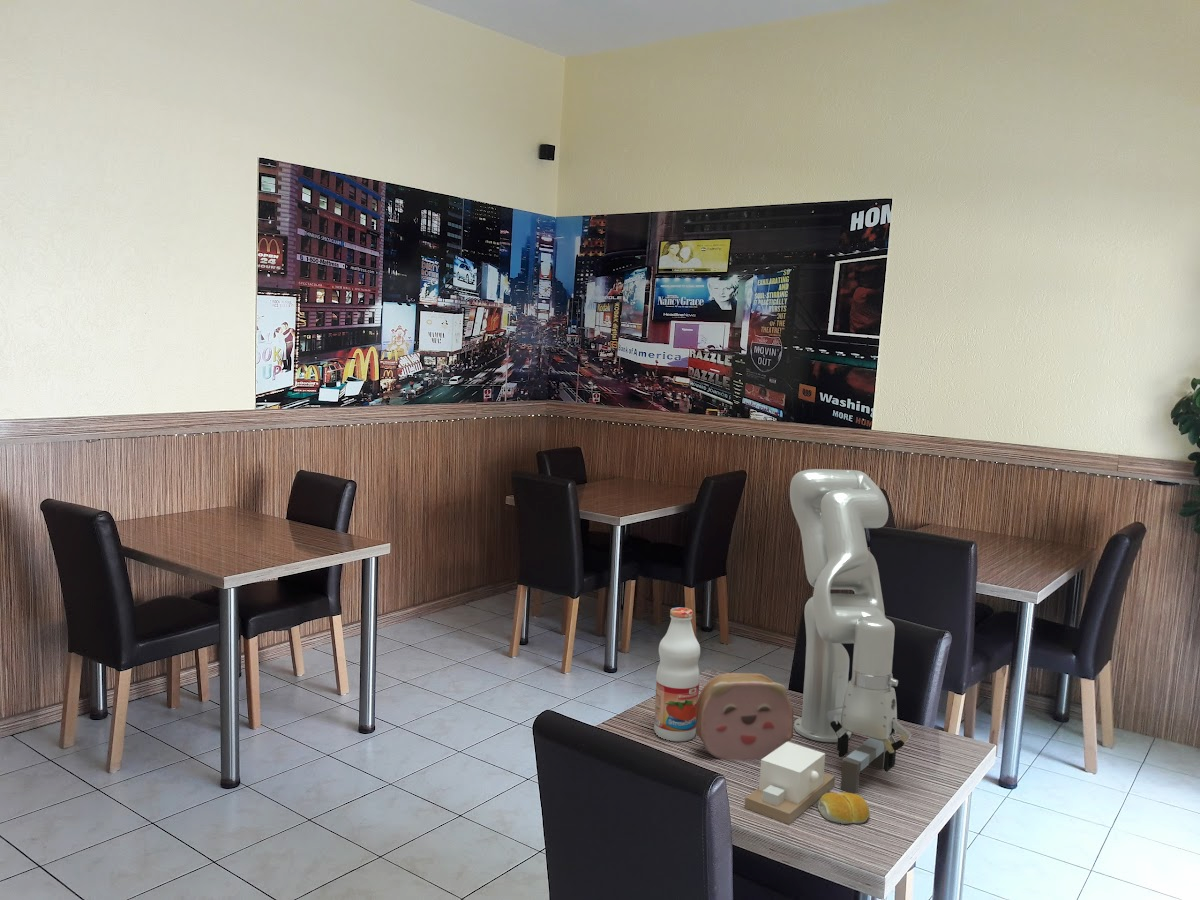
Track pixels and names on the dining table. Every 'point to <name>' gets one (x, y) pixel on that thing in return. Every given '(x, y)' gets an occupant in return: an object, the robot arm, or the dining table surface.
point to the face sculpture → (743, 716)
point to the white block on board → (789, 782)
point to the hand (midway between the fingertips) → (865, 762)
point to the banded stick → (861, 763)
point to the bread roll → (843, 808)
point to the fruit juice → (677, 679)
